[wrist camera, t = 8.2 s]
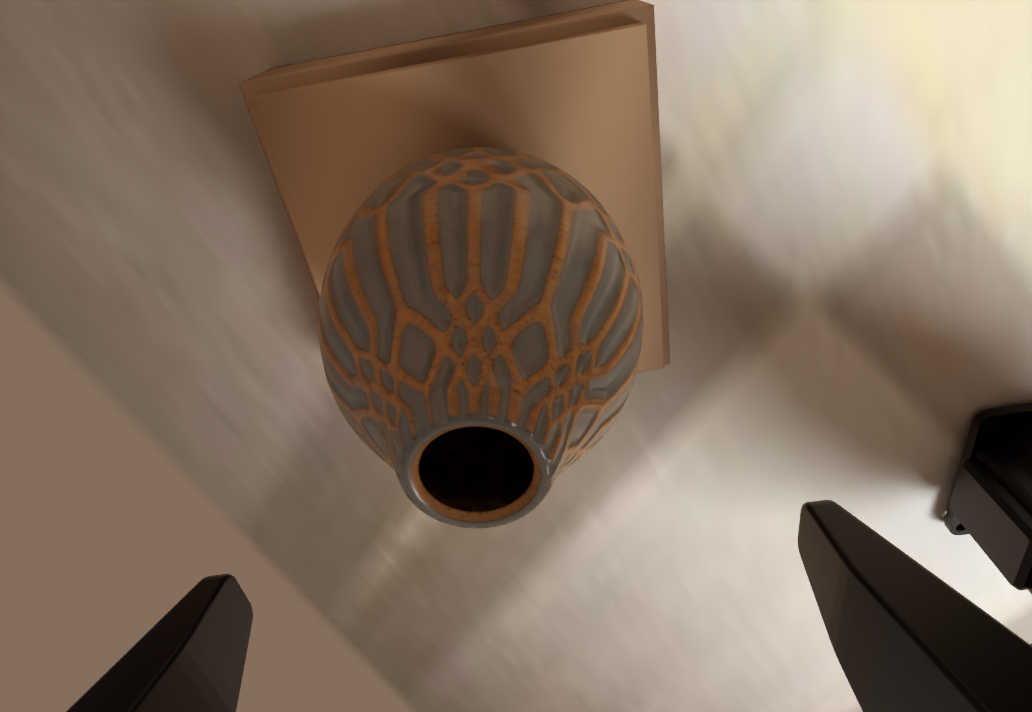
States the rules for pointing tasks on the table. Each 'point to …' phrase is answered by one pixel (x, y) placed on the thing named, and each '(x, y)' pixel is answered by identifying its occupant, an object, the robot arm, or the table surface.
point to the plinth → (479, 126)
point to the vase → (480, 329)
